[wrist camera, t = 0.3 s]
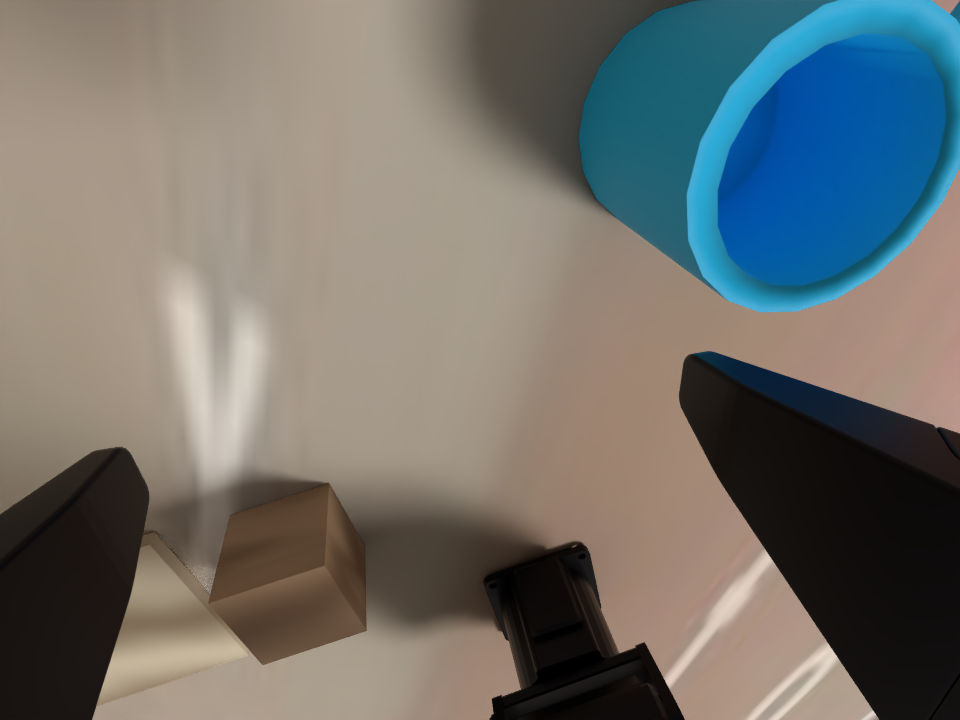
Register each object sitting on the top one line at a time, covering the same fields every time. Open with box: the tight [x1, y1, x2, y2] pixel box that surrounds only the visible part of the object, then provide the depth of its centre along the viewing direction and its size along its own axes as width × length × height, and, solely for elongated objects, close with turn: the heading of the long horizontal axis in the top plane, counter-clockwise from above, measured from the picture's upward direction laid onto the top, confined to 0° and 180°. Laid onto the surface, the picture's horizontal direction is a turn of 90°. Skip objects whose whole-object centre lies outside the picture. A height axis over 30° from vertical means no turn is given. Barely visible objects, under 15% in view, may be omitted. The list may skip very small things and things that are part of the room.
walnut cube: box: [208, 483, 367, 665], centre depth 27 cm, size 5×5×5 cm
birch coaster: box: [96, 532, 250, 706], centre depth 29 cm, size 10×10×1 cm
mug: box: [579, 0, 960, 312], centre depth 18 cm, size 12×8×8 cm
